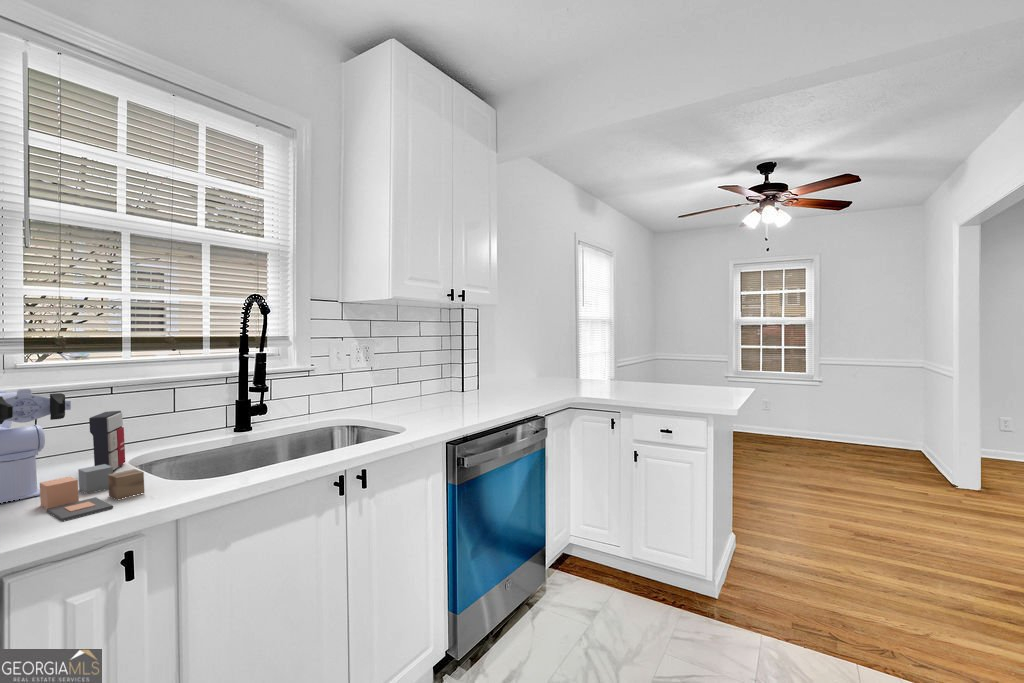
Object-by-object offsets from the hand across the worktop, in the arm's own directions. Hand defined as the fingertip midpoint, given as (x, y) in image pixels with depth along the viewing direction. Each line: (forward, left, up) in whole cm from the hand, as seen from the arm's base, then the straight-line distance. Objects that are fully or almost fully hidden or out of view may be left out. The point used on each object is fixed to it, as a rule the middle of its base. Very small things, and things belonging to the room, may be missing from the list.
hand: (36, 410), depth 101 cm
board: (+5, +5, -21) cm, 22 cm away
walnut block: (+2, +14, -21) cm, 25 cm away
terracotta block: (-4, +4, -21) cm, 22 cm away
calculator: (-28, +20, -21) cm, 41 cm away
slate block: (-10, +12, -21) cm, 26 cm away
